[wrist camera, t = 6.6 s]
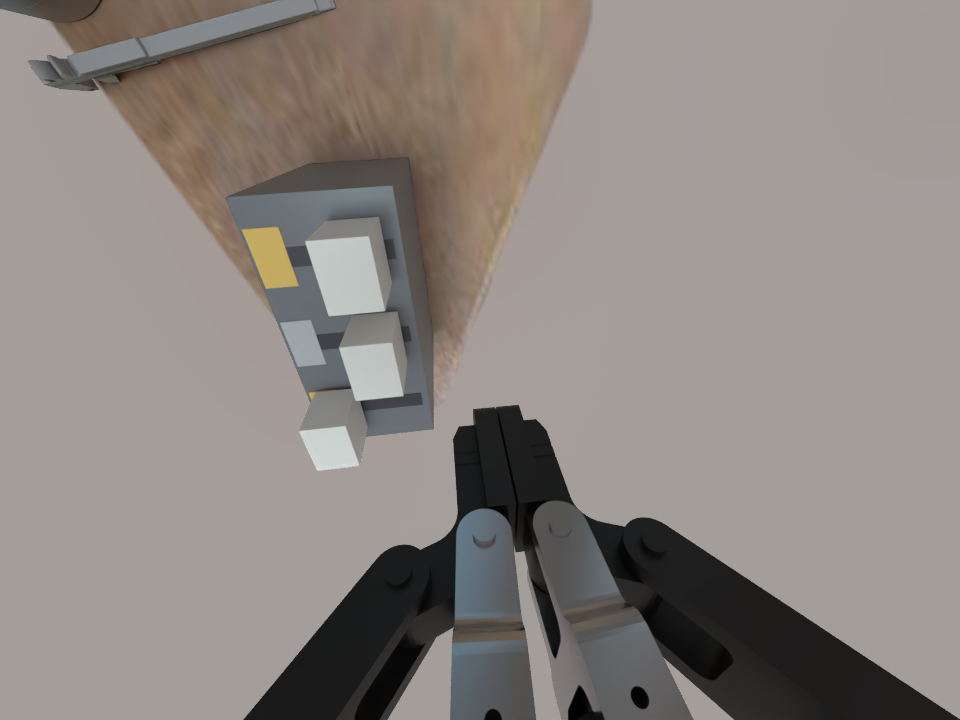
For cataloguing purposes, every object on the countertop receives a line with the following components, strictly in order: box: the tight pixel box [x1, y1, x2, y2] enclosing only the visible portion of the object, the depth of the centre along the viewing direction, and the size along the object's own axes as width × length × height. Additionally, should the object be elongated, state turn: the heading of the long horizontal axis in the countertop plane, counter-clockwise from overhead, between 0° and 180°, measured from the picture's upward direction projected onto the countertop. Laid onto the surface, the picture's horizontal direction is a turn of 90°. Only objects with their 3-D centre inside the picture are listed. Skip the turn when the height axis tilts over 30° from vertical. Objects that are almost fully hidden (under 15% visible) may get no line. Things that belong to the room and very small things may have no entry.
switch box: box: [225, 157, 434, 437], centre depth 32 cm, size 9×19×16 cm, turn 3°
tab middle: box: [339, 311, 407, 401], centre depth 23 cm, size 3×4×4 cm
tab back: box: [299, 389, 368, 471], centre depth 27 cm, size 3×4×4 cm
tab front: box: [305, 217, 392, 316], centre depth 20 cm, size 3×4×4 cm
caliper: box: [28, 0, 336, 91], centre depth 25 cm, size 20×1×6 cm, turn 105°
